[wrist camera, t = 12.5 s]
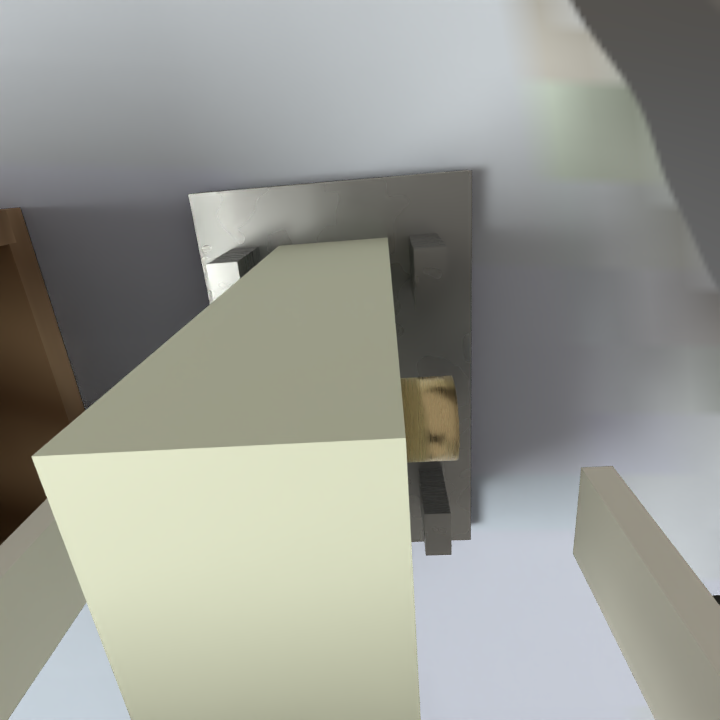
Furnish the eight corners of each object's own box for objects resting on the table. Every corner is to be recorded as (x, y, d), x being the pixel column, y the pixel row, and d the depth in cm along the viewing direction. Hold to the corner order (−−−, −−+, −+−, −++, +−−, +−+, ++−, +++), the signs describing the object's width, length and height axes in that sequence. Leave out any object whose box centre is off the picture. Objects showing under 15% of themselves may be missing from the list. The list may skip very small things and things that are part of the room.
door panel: (425, 506, 22) (486, 983, 9) (315, 511, 23) (229, 978, 10) (415, 235, 18) (505, 432, 5) (278, 245, 18) (31, 456, 5)
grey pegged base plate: (467, 524, 24) (483, 592, 20) (262, 532, 25) (241, 599, 21) (467, 170, 18) (489, 172, 14) (197, 192, 19) (152, 200, 15)
